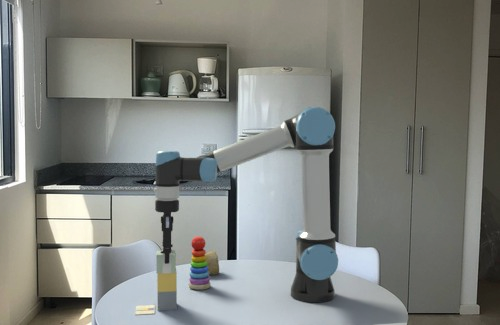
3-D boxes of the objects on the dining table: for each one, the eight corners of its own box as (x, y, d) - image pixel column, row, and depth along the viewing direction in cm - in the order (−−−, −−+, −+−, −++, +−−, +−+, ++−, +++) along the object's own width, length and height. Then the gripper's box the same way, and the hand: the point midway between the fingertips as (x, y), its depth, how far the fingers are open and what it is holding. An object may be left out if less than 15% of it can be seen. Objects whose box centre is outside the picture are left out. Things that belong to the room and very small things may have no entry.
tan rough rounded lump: (228, 259, 206) (205, 250, 204) (217, 282, 207) (194, 273, 204) (225, 252, 215) (203, 243, 213) (215, 274, 216) (192, 265, 214)
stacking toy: (199, 282, 198) (199, 233, 197) (215, 287, 193) (215, 236, 192) (184, 287, 192) (184, 236, 191) (199, 291, 187) (199, 239, 186)
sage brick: (175, 268, 174) (175, 250, 173) (175, 272, 168) (175, 254, 167) (156, 268, 173) (156, 250, 172) (156, 273, 167) (156, 254, 166)
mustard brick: (176, 285, 174) (176, 267, 174) (176, 291, 168) (176, 272, 168) (157, 286, 173) (157, 268, 173) (157, 292, 167) (157, 273, 167)
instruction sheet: (154, 305, 172) (154, 304, 172) (154, 313, 164) (154, 312, 164) (136, 306, 171) (136, 305, 171) (135, 314, 163) (135, 314, 163)
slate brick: (176, 303, 174) (176, 285, 174) (176, 309, 169) (176, 291, 168) (157, 304, 173) (157, 286, 173) (157, 310, 168) (157, 292, 167)
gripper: (155, 195, 177) (154, 263, 179) (155, 203, 159) (154, 278, 160) (177, 195, 179) (177, 262, 180) (180, 203, 160) (179, 278, 161)
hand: (166, 270), depth 170 cm, fingers closed on sage brick, 6 cm apart
